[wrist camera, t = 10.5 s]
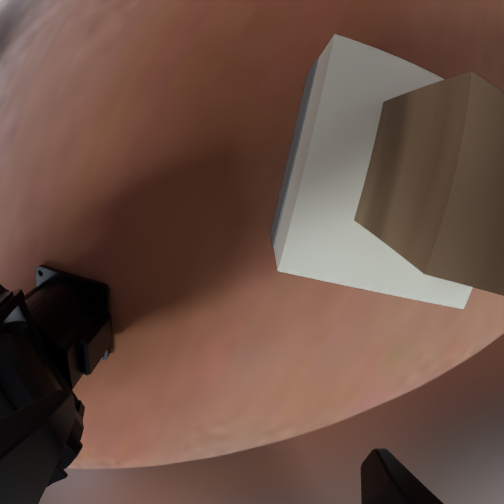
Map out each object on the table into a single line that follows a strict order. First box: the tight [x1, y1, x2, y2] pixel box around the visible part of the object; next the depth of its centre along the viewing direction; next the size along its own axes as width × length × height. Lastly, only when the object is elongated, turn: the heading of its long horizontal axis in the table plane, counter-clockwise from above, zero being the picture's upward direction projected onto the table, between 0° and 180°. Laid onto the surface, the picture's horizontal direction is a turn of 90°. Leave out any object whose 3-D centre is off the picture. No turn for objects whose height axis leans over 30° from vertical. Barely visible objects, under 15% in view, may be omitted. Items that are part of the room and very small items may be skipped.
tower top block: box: [274, 34, 473, 309], centre depth 13 cm, size 10×10×4 cm
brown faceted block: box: [354, 71, 504, 296], centre depth 9 cm, size 5×5×6 cm
